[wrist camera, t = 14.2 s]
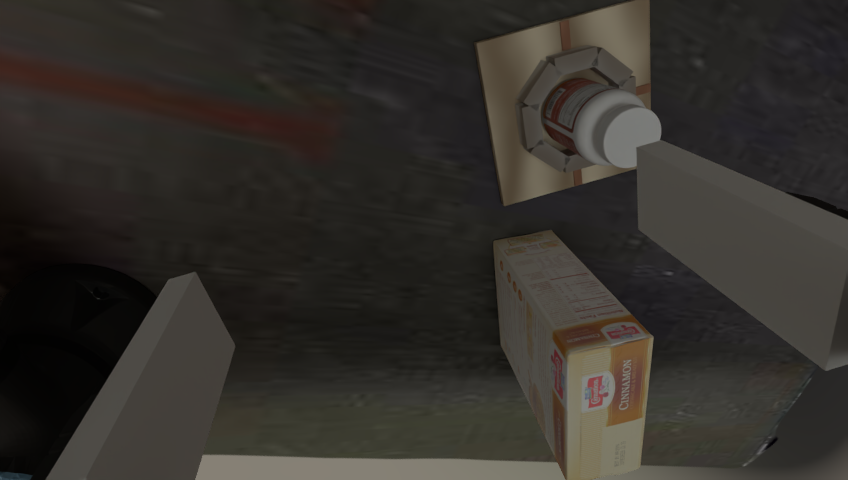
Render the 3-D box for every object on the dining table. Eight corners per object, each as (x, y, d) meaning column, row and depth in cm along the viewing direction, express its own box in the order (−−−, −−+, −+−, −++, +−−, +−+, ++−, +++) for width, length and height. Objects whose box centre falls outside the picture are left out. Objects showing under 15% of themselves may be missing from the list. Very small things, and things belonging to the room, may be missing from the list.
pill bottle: (603, 132, 48) (671, 166, 38) (543, 149, 48) (597, 188, 38) (599, 68, 45) (671, 87, 35) (535, 86, 45) (591, 110, 35)
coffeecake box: (554, 335, 60) (642, 470, 42) (498, 346, 59) (564, 489, 42) (553, 227, 53) (658, 336, 36) (491, 239, 52) (566, 355, 35)
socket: (501, 202, 50) (510, 213, 48) (473, 42, 43) (482, 45, 40) (645, 161, 51) (662, 170, 48) (643, -4, 44) (662, -4, 41)
